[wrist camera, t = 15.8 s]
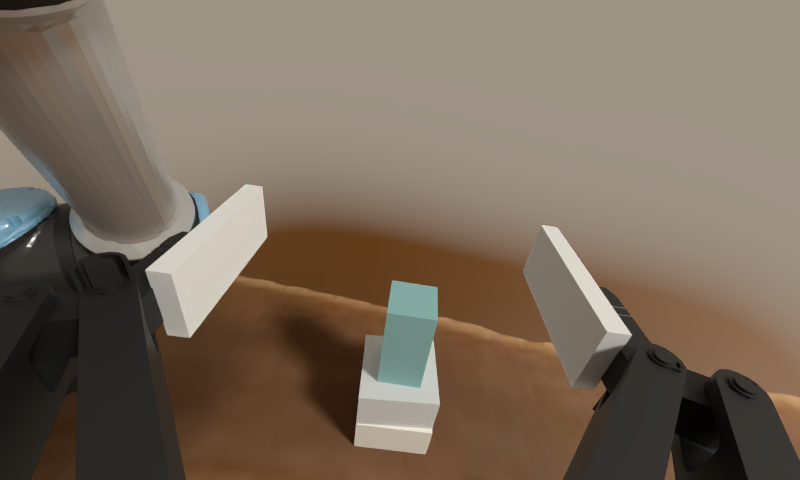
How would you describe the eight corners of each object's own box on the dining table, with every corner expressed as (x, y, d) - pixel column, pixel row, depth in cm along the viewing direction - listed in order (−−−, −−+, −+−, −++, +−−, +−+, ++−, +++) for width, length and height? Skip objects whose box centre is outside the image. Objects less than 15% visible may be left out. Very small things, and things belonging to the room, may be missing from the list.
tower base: (353, 446, 42) (355, 424, 39) (364, 382, 50) (366, 360, 47) (425, 455, 42) (432, 433, 39) (424, 390, 50) (430, 368, 47)
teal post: (377, 381, 39) (387, 312, 33) (382, 346, 43) (392, 280, 37) (420, 388, 39) (437, 320, 33) (421, 352, 43) (437, 287, 37)
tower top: (356, 423, 39) (358, 398, 37) (363, 359, 47) (366, 334, 44) (432, 429, 40) (439, 404, 37) (427, 365, 48) (433, 340, 45)
